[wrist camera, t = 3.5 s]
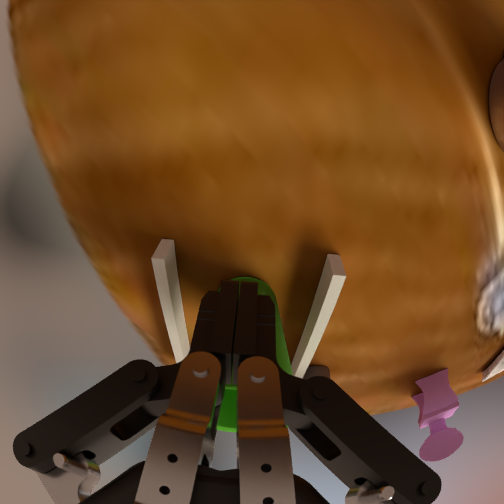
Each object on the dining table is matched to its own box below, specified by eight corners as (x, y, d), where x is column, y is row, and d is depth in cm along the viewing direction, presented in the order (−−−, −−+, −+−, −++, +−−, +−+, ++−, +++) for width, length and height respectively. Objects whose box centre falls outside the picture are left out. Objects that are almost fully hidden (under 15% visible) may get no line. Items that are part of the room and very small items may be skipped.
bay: (161, 238, 21) (129, 301, 15) (386, 259, 21) (414, 322, 15) (186, 368, 33) (177, 413, 27) (324, 378, 33) (328, 424, 27)
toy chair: (453, 364, 32) (475, 442, 20) (445, 384, 37) (461, 451, 25) (409, 381, 35) (426, 463, 23) (406, 398, 39) (419, 468, 27)
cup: (214, 331, 27) (197, 431, 19) (180, 264, 22) (139, 383, 14) (302, 323, 26) (308, 430, 17) (290, 248, 21) (299, 382, 12)
